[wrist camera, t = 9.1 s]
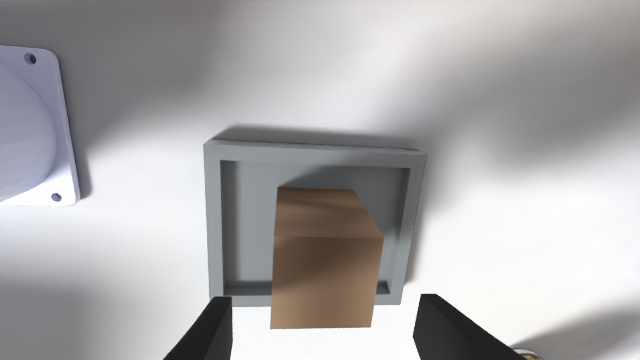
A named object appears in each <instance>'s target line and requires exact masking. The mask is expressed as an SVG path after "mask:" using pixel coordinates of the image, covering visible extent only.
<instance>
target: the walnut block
mask: <svg viewBox="0 0 640 360" xmlns="http://www.w3.org/2000/svg"><path fill="white" fill-rule="evenodd" d="M383 243H384V237H383V236H382V234H381V232H380V231H379V229H378V228H377V226H376V225H375V223H374V221H373V220H372V218H371V217H370V215H369V213H368V212H367V210H366V209H365V207H364V206H363V204H362V202H361V201H360V199H359V198H358V196H357V194H356V193H355V191H354V190H340V189H315V188H289V187H277V199H276V213H275V226H274V243H273V270H272V297H271V323H270V329H304V328H362V327H371V321H372V315H373V308H374V302H375V295H376V289H377V282H378V276H379V269H380V263H381V256H382V250H383Z"/></svg>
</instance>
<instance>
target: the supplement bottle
mask: <svg viewBox="0 0 640 360" xmlns="http://www.w3.org/2000/svg"><path fill="white" fill-rule="evenodd" d="M514 351H515V352H517V353H518V354H520V355H521V356H523V357H525V358H526V359H528V360H543V359H542V358H541V357H540V356H539V355H537V354H536V353H534V352H532V351H528V350H522V349H517V350H514Z"/></svg>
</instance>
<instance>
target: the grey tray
mask: <svg viewBox="0 0 640 360" xmlns="http://www.w3.org/2000/svg"><path fill="white" fill-rule="evenodd" d="M203 145H204V170H205V195H206V220H207V246H208V271H209V296H210V301H211V299H212V298H213V297H215V296H232V307H264V306H271V297H272V270H273V243H274V226H275V213H276V199H277V187H289V188H315V189H340V190H354V191H355V193H356V194H357V196H358V198H359V199H360V201H361V202H362V204H363V206H364V207H365V209H366V210H367V212H368V213H369V215H370V217H371V218H372V220H373V221H374V223H375V225H376V226H377V228H378V229H379V231H380V232H381V234H382V236H383V237H384V243H383V250H382V256H381V263H380V269H379V276H378V282H377V289H376V295H375V302H374V305H400V304H401V298H402V292H403V287H404V281H405V275H406V270H407V264H408V258H409V253H410V247H411V241H412V236H413V230H414V224H415V219H416V213H417V207H418V202H419V196H420V190H421V185H422V179H423V174H424V168H425V162H426V157H427V155H426V154H424V153H422V152H420V151H418V150H416V149H397V148H378V147H358V146H338V145H319V144H299V143H279V142H260V141H240V140H220V139H210V140H208V141H207V142H206V143H204V144H203Z"/></svg>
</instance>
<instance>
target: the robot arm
mask: <svg viewBox="0 0 640 360" xmlns="http://www.w3.org/2000/svg"><path fill="white" fill-rule="evenodd" d="M32 54H33V55H34V56H35V58H36V63H35V64H33V63H32V62H31V60H30V56H31V55H32ZM56 193H58V194H60V195H61V197H62V199H59V198H58V197H57V196H56ZM79 200H80V190H79V184H78V178H77V172H76V166H75V160H74V154H73V148H72V142H71V136H70V130H69V124H68V118H67V111H66V105H65V99H64V93H63V87H62V81H61V75H60V69H59V63H58V59H57V57H56V56H55V54H54V53H53V52H51V51H50V50H46V49H39V48H27V47H14V46H2V45H0V204H8V205H49V206H72V205H74V204H76V203H77V202H79ZM413 339H414V342H415V345H416V348H417V351H418V353H419V356H420V359H421V360H528V359H526V358H525V357H523V356H521V355H520V354H518V353H517V352H515V351H514V350H512V349H511V348H509V347H508V346H506V345H505V344H504V343H502V342H501V341H499V340H498V339H496V338H495V337H494V336H492V335H491V334H489V333H488V332H487V331H485V330H484V329H482V328H481V327H480V326H478V325H477V324H476V323H474V322H473V321H472V320H470V319H469V318H468V317H466V316H465V315H464V314H463V313H461V312H460V311H459V310H457V309H456V308H455V307H453V306H452V305H451V304H449V303H448V302H447V301H445V300H444V299H443V298H441V297H440V296H438V295H437V294H421V297H420V302H419V307H418V312H417V317H416V322H415V327H414V332H413ZM232 342H233V336H232V296H215V297H213V298H212V299H211V301H210V302H209V303H208V305H207V306H206V308H205V309H204V311H203V312H202V313H201V315H200V316H199V317H198V319H197V320H196V321H195V322H194V324H193V325H192V326H191V327H190V329H189V330H188V331H187V332H186V334H185V335H184V336H183V337H182V339H181V340H180V341H179V342H178V343H177V344H176V346H175V347H174V348H173V349H172V350H171V351H170V352H169V353H168V354H167V355H166V357H165V358H164V359H163V360H230V356H231V349H232Z"/></svg>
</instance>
